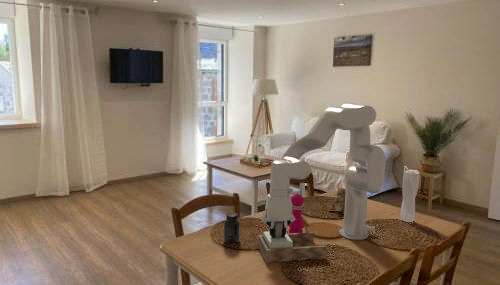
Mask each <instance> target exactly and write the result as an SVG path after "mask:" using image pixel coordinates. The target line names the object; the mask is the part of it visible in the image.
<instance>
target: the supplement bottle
mask: <svg viewBox="0 0 500 285" xmlns="http://www.w3.org/2000/svg"><path fill="white" fill-rule="evenodd" d="M225 216H226V217H225V220H224V223H223V242H224V241H225V242H226V243H225V242H224V243H225V244H228V243H229V244H228V245H235V243H236V244H238V243H240V235H241V234H240V233H241V222H240V220H239V215H238V213H237V212H227V213H226V215H225Z"/></svg>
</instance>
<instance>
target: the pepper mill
mask: <svg viewBox="0 0 500 285" xmlns="http://www.w3.org/2000/svg"><path fill="white" fill-rule="evenodd" d="M293 194H294V195H292V197H291V202H292V214H293V216H294V217H295V220H294V221H293V222H291V223H290V224H289V225H288V228H289V229H288V234H290V233H304V232H303V228H304V227H305V221H304V219H303V216H302V214H301V209H302V210H303V204H304V203H305V199H304V195H302V194H300V191H299V190H296V191H295V193H293Z"/></svg>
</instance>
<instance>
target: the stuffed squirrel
mask: <svg viewBox="0 0 500 285" xmlns="http://www.w3.org/2000/svg"><path fill="white" fill-rule="evenodd" d="M345 197H346V188H342V187H337V193H336V194H335V199H333V202H332V204H331V207H329V208H328V209H329V210H336V211H341V212H342V213H344V210H345ZM336 211H335V212H336ZM342 213H341V214H342Z"/></svg>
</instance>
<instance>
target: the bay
mask: <svg viewBox="0 0 500 285" xmlns="http://www.w3.org/2000/svg"><path fill="white" fill-rule="evenodd" d="M287 235H288V236H289V237H290V239H291V240H292V241H293V248H278V249H268V247H267V245H266V244H265V242H264V240H263V234H260V235H259V234H258V239H257V248H258V247H259V248H258V249H259V252H260V253H261V255H262V257H263V259H264V261H265V263H266V264H268V263H270V264H271V263H282V262H283V261H284V262H294V261H293V260H298V261H307V260H306V259H311V260H321V259H324V260H325V259H326V258H327V245H317V244H316V243H315V242H314V241H315V232H310V231H309V232H303V233H290V234H289V233H287Z"/></svg>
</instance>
